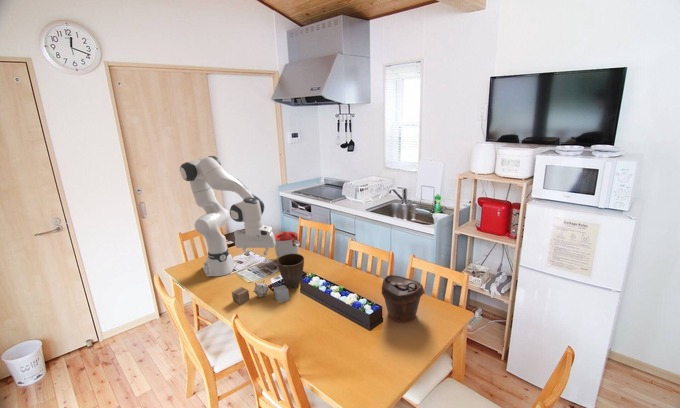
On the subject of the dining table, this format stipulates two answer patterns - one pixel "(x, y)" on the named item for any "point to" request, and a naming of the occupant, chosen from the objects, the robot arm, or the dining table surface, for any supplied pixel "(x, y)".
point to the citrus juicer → (286, 243)
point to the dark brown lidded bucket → (401, 297)
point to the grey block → (281, 293)
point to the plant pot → (291, 269)
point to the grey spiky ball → (261, 289)
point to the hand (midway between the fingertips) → (256, 254)
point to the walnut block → (240, 296)
